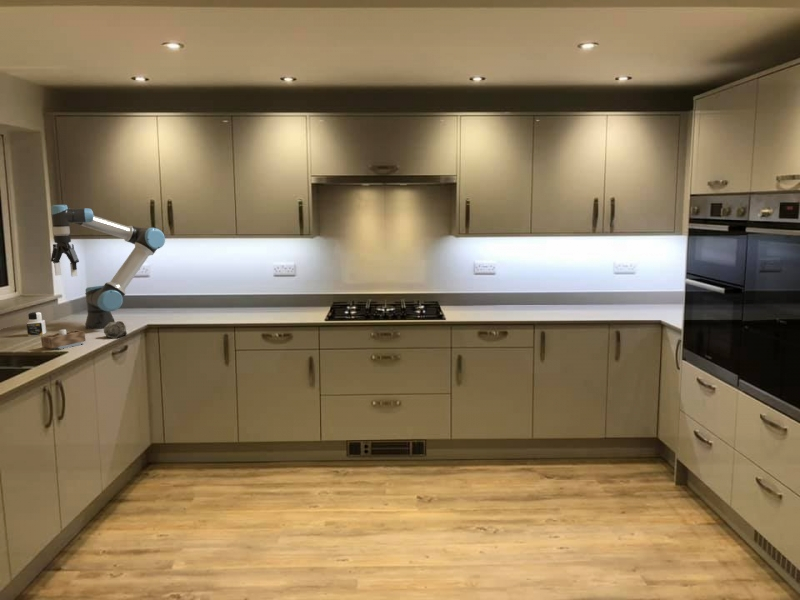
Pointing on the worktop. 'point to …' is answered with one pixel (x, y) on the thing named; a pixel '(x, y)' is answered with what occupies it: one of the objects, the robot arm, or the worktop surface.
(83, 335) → the brown textured block
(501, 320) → the worktop surface
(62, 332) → the post block
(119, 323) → the fossil
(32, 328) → the medicine bottle
